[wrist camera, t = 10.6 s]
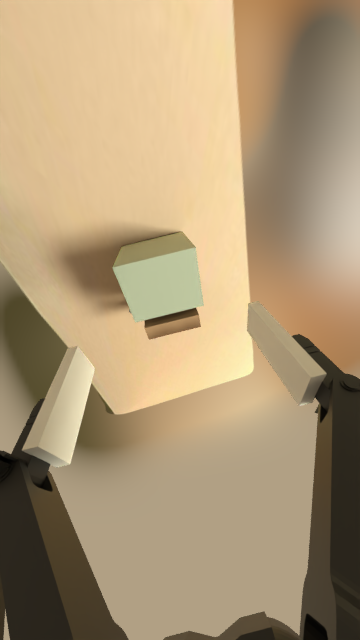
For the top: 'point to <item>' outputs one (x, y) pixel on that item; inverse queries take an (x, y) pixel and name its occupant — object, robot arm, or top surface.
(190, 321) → the brown boxy piece
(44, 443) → the robot arm
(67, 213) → the top surface
